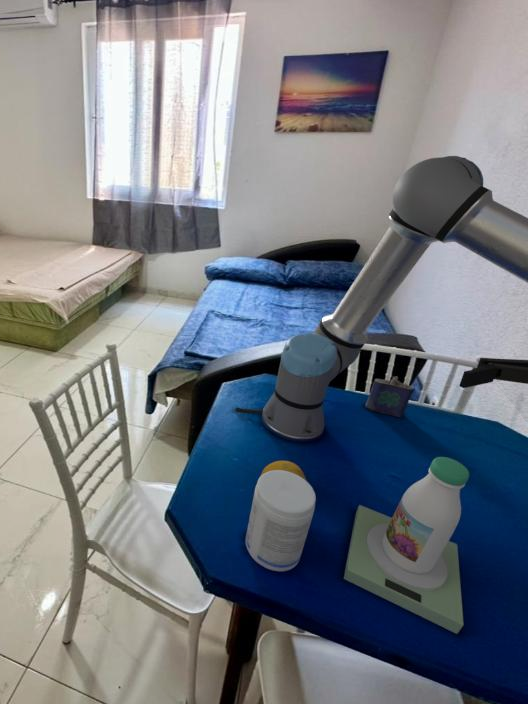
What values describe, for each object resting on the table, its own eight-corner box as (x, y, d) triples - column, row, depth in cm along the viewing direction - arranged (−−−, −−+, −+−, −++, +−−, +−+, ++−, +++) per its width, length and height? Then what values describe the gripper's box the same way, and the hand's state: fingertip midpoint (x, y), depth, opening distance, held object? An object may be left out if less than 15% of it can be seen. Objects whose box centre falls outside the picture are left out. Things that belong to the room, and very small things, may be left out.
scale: (343, 578, 68) (348, 566, 67) (355, 513, 80) (360, 501, 79) (457, 634, 61) (466, 622, 59) (451, 553, 73) (459, 541, 72)
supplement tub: (310, 556, 72) (331, 497, 65) (274, 584, 67) (292, 524, 60) (268, 518, 79) (282, 461, 72) (233, 541, 74) (244, 482, 67)
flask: (365, 408, 112) (376, 375, 107) (364, 403, 114) (376, 370, 109) (403, 418, 108) (417, 384, 103) (401, 412, 111) (415, 379, 106)
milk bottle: (418, 536, 72) (463, 450, 63) (442, 578, 65) (496, 489, 56) (373, 531, 73) (411, 446, 63) (392, 572, 66) (438, 483, 57)
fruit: (271, 516, 79) (279, 487, 75) (250, 485, 86) (256, 457, 82) (310, 507, 81) (319, 478, 78) (287, 478, 88) (294, 450, 84)
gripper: (708, 442, 56) (607, 476, 50) (511, 366, 78) (425, 384, 72) (740, 395, 53) (637, 425, 47) (525, 330, 74) (437, 345, 69)
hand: (509, 400), depth 60 cm, fingers open, 13 cm apart
